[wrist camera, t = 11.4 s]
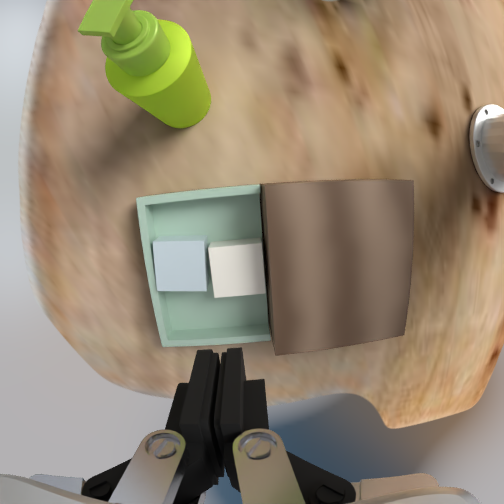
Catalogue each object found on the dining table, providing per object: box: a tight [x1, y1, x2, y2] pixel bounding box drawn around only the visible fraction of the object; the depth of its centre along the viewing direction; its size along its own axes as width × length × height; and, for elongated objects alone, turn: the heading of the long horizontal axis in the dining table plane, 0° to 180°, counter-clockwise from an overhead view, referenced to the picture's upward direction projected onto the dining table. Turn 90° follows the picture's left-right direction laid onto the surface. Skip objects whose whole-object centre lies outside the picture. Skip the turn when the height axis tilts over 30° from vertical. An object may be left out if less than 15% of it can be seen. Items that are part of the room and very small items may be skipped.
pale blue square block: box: [153, 235, 209, 291], centre depth 30 cm, size 5×5×3 cm
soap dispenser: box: [78, 0, 211, 128], centre depth 18 cm, size 6×7×20 cm
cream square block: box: [208, 237, 266, 298], centre depth 30 cm, size 5×5×3 cm
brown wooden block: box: [260, 179, 414, 355], centre depth 29 cm, size 14×16×6 cm
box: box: [136, 184, 271, 347], centre depth 31 cm, size 12×16×3 cm
